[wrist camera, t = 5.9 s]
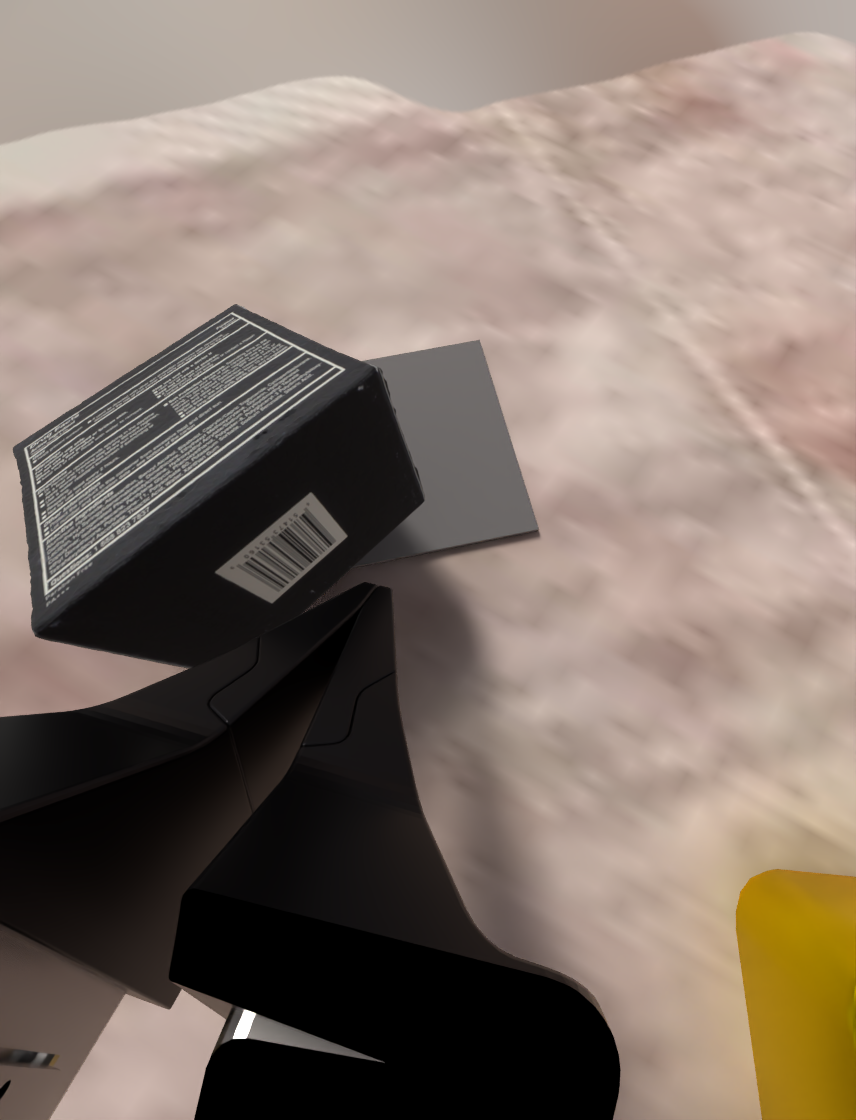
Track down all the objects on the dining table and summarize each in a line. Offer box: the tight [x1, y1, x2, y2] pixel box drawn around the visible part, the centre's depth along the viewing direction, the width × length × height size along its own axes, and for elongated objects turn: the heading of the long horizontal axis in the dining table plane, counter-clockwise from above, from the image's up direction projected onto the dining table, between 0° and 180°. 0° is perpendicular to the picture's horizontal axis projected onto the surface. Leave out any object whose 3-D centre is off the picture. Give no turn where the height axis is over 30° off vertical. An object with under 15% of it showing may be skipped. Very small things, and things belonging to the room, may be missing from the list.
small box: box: [13, 304, 425, 669], centre depth 13 cm, size 11×6×10 cm
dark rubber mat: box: [352, 340, 539, 568], centre depth 18 cm, size 13×16×1 cm
